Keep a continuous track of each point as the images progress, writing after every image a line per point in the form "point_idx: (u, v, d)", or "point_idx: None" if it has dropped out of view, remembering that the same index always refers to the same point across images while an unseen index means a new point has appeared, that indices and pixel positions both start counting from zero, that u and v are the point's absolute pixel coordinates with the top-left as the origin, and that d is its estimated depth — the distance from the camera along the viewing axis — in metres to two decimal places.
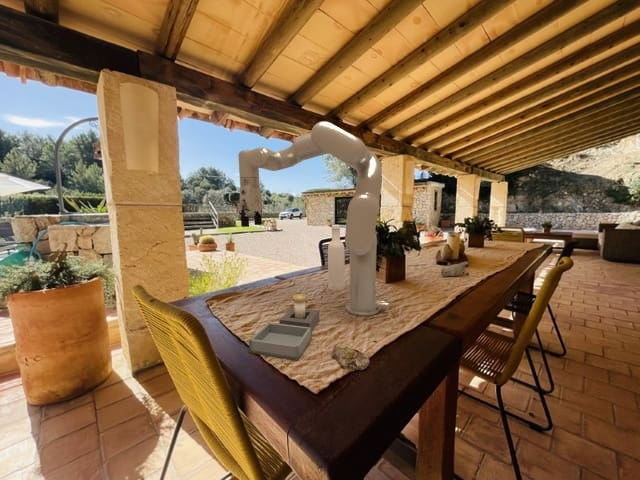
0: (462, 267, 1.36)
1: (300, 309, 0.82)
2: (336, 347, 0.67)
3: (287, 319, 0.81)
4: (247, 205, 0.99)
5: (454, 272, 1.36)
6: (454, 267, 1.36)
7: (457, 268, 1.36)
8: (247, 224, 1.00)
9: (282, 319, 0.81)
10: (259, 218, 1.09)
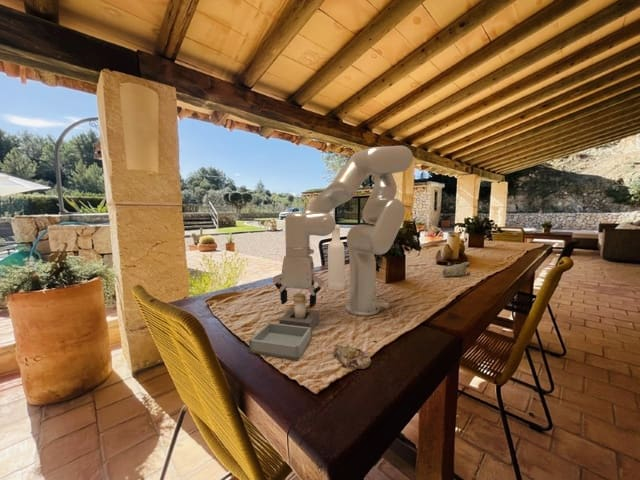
0: (464, 267, 1.36)
1: (300, 309, 0.82)
2: (338, 346, 0.68)
3: (287, 319, 0.81)
4: None
5: (456, 273, 1.35)
6: (456, 267, 1.36)
7: (459, 268, 1.36)
8: None
9: (282, 319, 0.81)
10: (286, 294, 0.85)
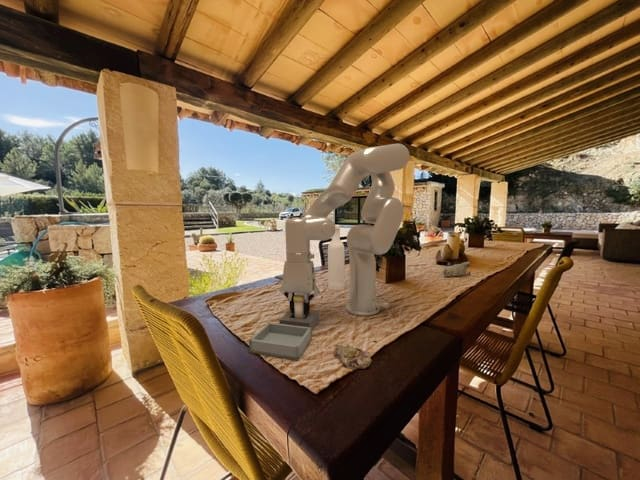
0: (464, 267, 1.36)
1: (300, 309, 0.82)
2: (338, 346, 0.68)
3: (287, 319, 0.81)
4: None
5: (456, 272, 1.35)
6: (456, 267, 1.36)
7: (459, 268, 1.35)
8: None
9: (282, 319, 0.81)
10: None
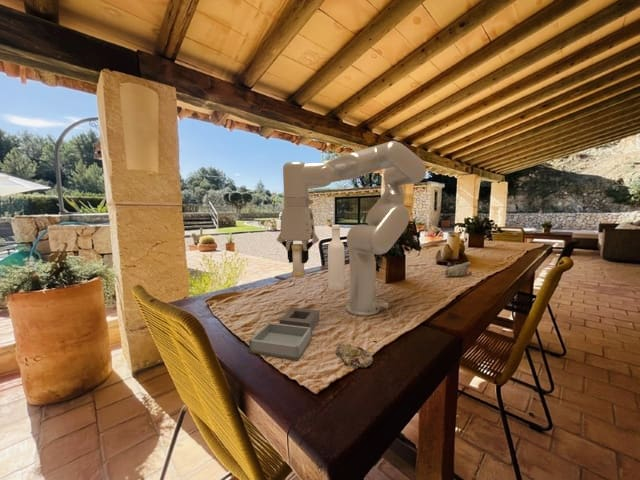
0: (465, 267, 1.36)
1: (298, 257, 0.80)
2: (340, 344, 0.68)
3: (287, 319, 0.81)
4: (312, 237, 0.81)
5: (458, 273, 1.35)
6: (458, 267, 1.36)
7: (461, 268, 1.35)
8: None
9: (282, 319, 0.81)
10: None
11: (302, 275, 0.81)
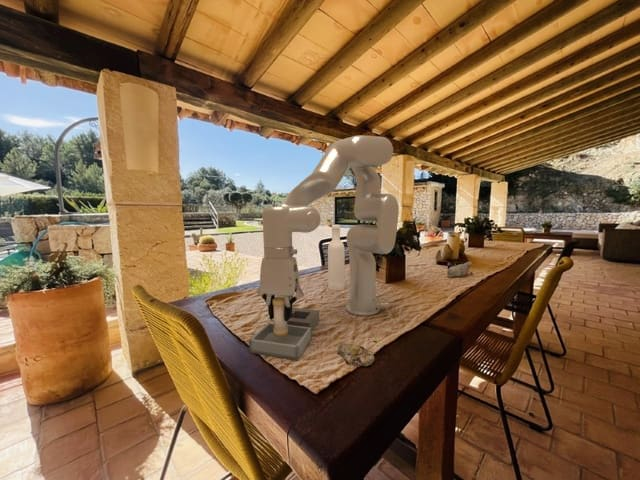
0: (467, 267, 1.36)
1: (280, 314, 0.69)
2: (342, 343, 0.69)
3: None
4: None
5: (460, 273, 1.35)
6: (460, 267, 1.35)
7: (463, 268, 1.35)
8: None
9: None
10: None
11: (285, 334, 0.70)
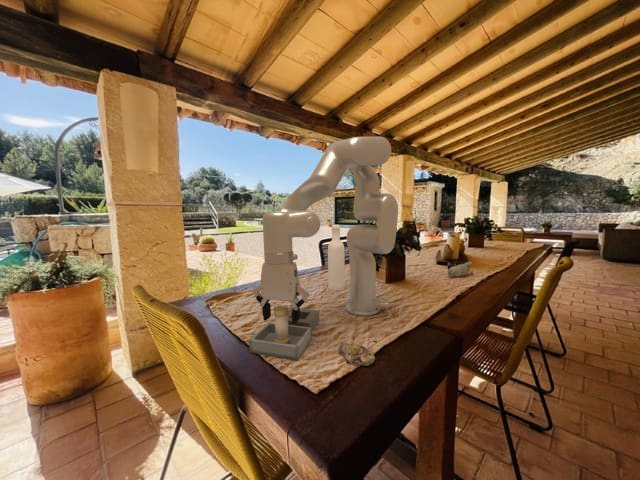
0: (468, 267, 1.36)
1: (282, 323, 0.70)
2: (343, 343, 0.69)
3: None
4: None
5: (461, 273, 1.35)
6: (460, 267, 1.35)
7: (463, 268, 1.35)
8: None
9: None
10: (269, 308, 0.73)
11: None
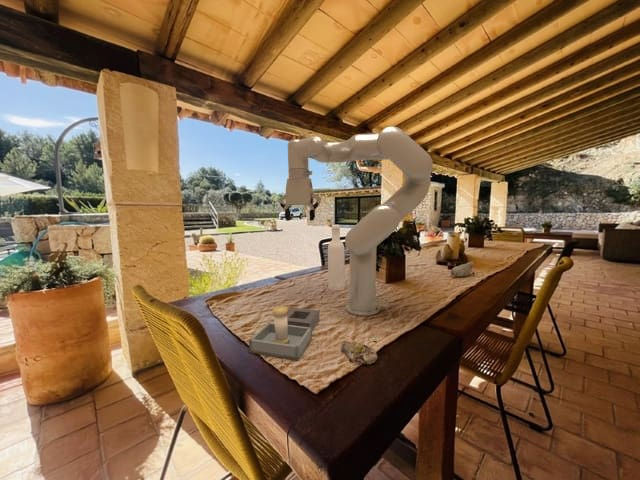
0: (470, 267, 1.36)
1: (281, 324, 0.69)
2: (345, 342, 0.70)
3: (287, 319, 0.81)
4: (313, 198, 0.98)
5: (463, 273, 1.34)
6: (463, 267, 1.35)
7: (466, 268, 1.35)
8: (313, 217, 0.98)
9: None
10: (290, 213, 1.01)
11: None
